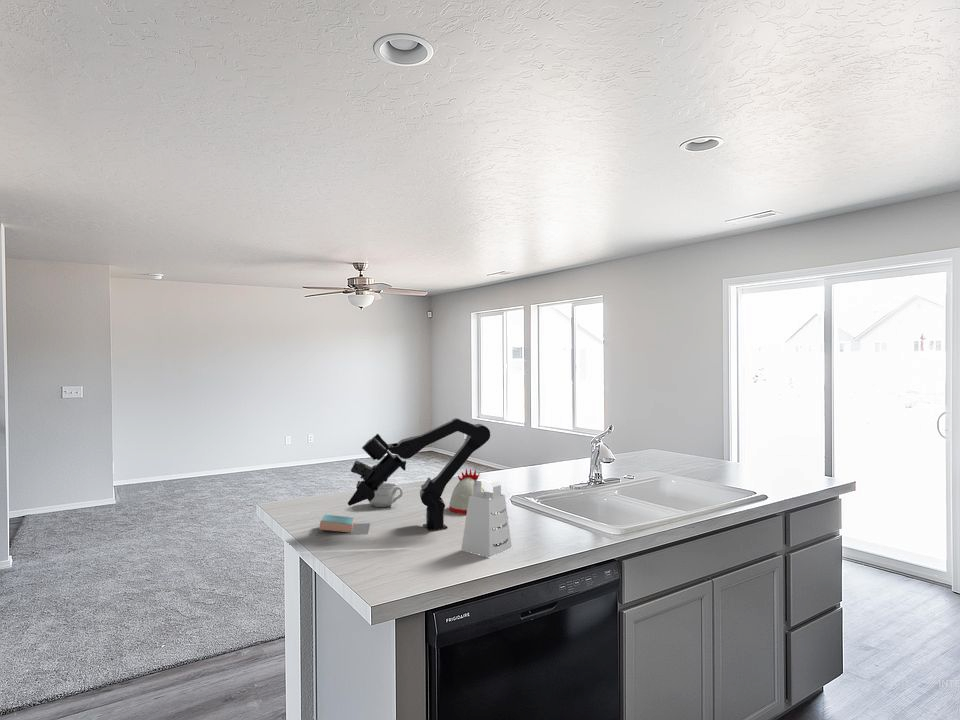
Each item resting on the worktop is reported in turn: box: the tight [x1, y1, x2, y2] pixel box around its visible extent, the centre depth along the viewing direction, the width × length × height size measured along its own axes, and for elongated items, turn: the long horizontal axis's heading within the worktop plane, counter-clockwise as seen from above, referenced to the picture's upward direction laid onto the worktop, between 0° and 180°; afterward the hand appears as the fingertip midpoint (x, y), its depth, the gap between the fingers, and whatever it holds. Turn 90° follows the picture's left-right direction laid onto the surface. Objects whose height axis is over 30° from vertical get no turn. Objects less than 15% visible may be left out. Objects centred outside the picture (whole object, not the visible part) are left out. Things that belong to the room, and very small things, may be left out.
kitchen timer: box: [449, 468, 485, 515], centre depth 211 cm, size 14×14×15 cm
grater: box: [460, 478, 513, 558], centre depth 166 cm, size 10×10×20 cm
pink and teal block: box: [318, 514, 356, 533], centre depth 183 cm, size 3×8×10 cm
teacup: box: [367, 482, 404, 508], centre depth 215 cm, size 14×11×8 cm
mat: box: [315, 522, 371, 537], centre depth 183 cm, size 16×12×1 cm
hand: (348, 504), depth 183 cm, fingers closed
